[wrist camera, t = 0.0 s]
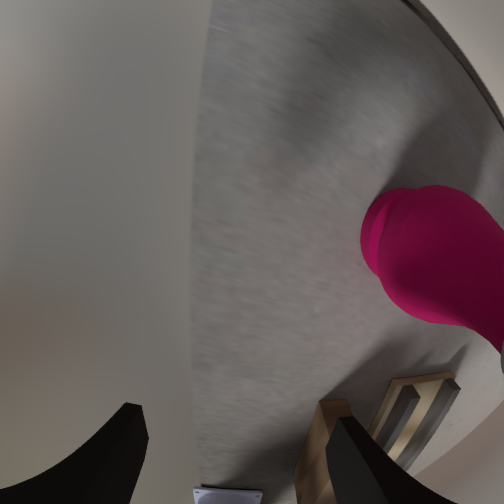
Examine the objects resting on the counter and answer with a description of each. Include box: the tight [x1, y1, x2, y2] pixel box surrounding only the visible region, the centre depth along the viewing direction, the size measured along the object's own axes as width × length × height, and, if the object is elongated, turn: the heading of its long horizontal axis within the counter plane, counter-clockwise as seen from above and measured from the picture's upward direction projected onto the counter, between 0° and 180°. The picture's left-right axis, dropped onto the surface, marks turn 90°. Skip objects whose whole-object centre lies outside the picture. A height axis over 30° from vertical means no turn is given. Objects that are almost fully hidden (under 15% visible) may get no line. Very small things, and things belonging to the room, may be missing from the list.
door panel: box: [293, 400, 352, 504], centre depth 20 cm, size 12×3×7 cm, turn 175°
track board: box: [367, 371, 461, 472], centre depth 22 cm, size 15×7×3 cm, turn 175°
